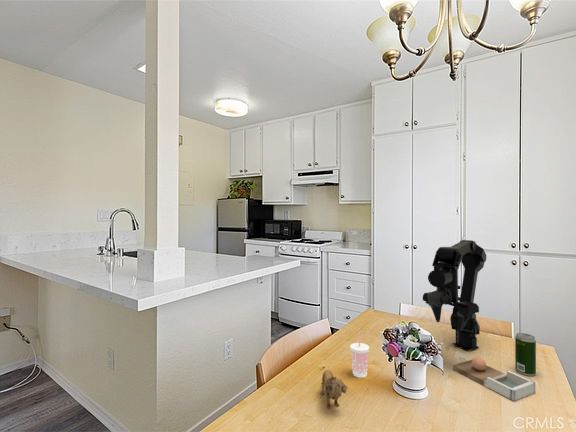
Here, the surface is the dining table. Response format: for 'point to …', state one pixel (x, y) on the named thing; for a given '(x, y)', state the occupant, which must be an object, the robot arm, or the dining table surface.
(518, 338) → the beer can
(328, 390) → the lion figurine
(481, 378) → the runway
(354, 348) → the beverage cup
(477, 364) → the ball
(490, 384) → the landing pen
